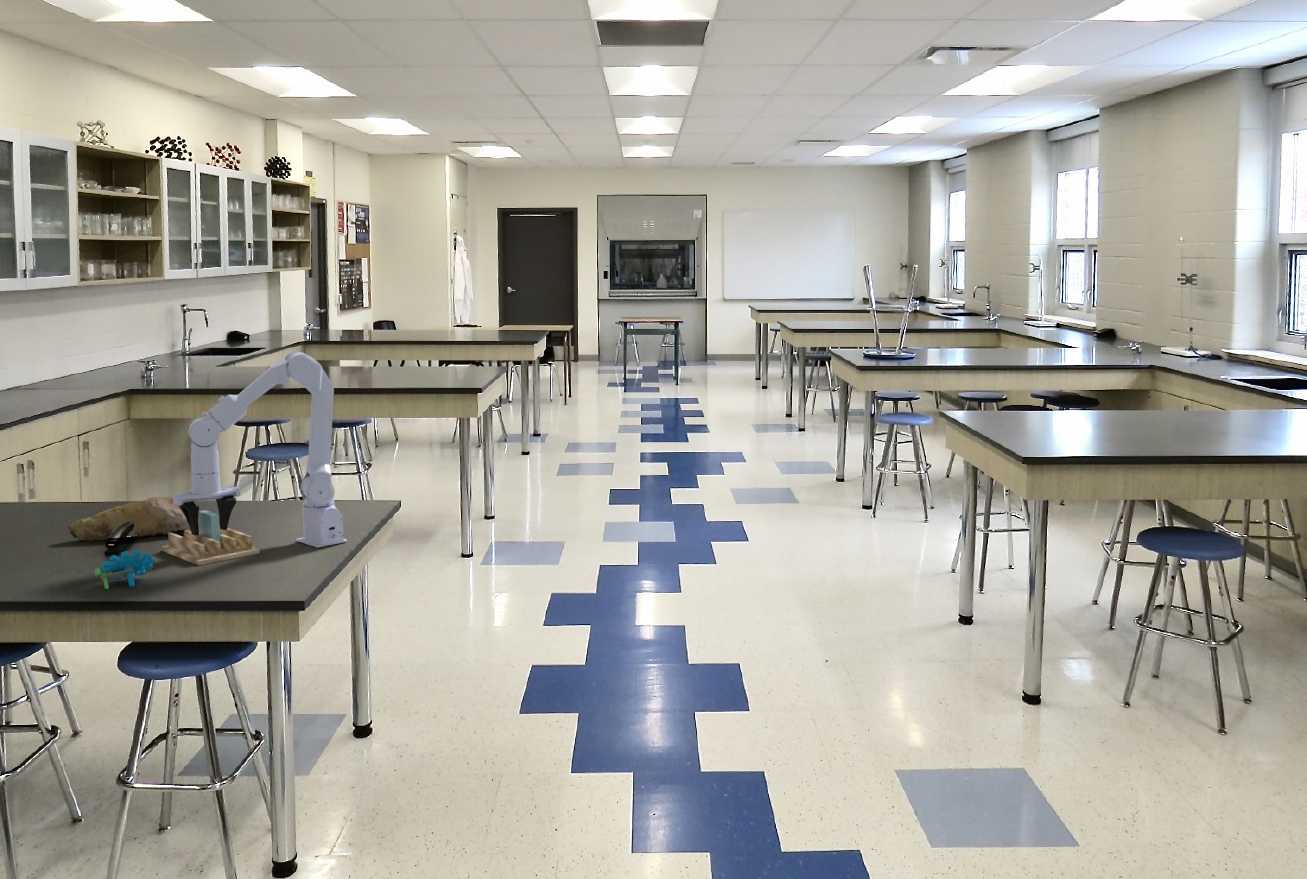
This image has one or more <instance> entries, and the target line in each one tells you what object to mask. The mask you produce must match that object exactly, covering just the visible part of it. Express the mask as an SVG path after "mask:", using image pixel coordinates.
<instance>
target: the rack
mask: <svg viewBox="0 0 1307 879" xmlns="http://www.w3.org/2000/svg"><path fill="white" fill-rule="evenodd" d="M219 529H220V525H219ZM167 535H168V538H167V539H168V544H167V545H164V546H161V551H162V552H165V553H166V554H169V555H172V556H174V557H176V558H179V559H182V560H184V561H187V562H188V563H191V564H194V565H196V566H204V565H209V564H214V563H218V562H224V561H230V560H234V559H239V558H243V557H244V558H245V557H249V556H253V555H258V554H260V553H261V551H260V550H261V549H260V548H258V547H255V546H253V537H252V535H249V534H246V533H244V532H240V531H238V530H235V529H232V528H229V527H228V528H227V530H222V529H220V542H219V541H217V540H214V539H211V538H208V537H206V536H203V535H200V533H199V535H196V536H195V535H192V534H191V530H189V529H183V536H181V535H179V534H177V533H174V532H171V533H168V534H167Z"/></svg>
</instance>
